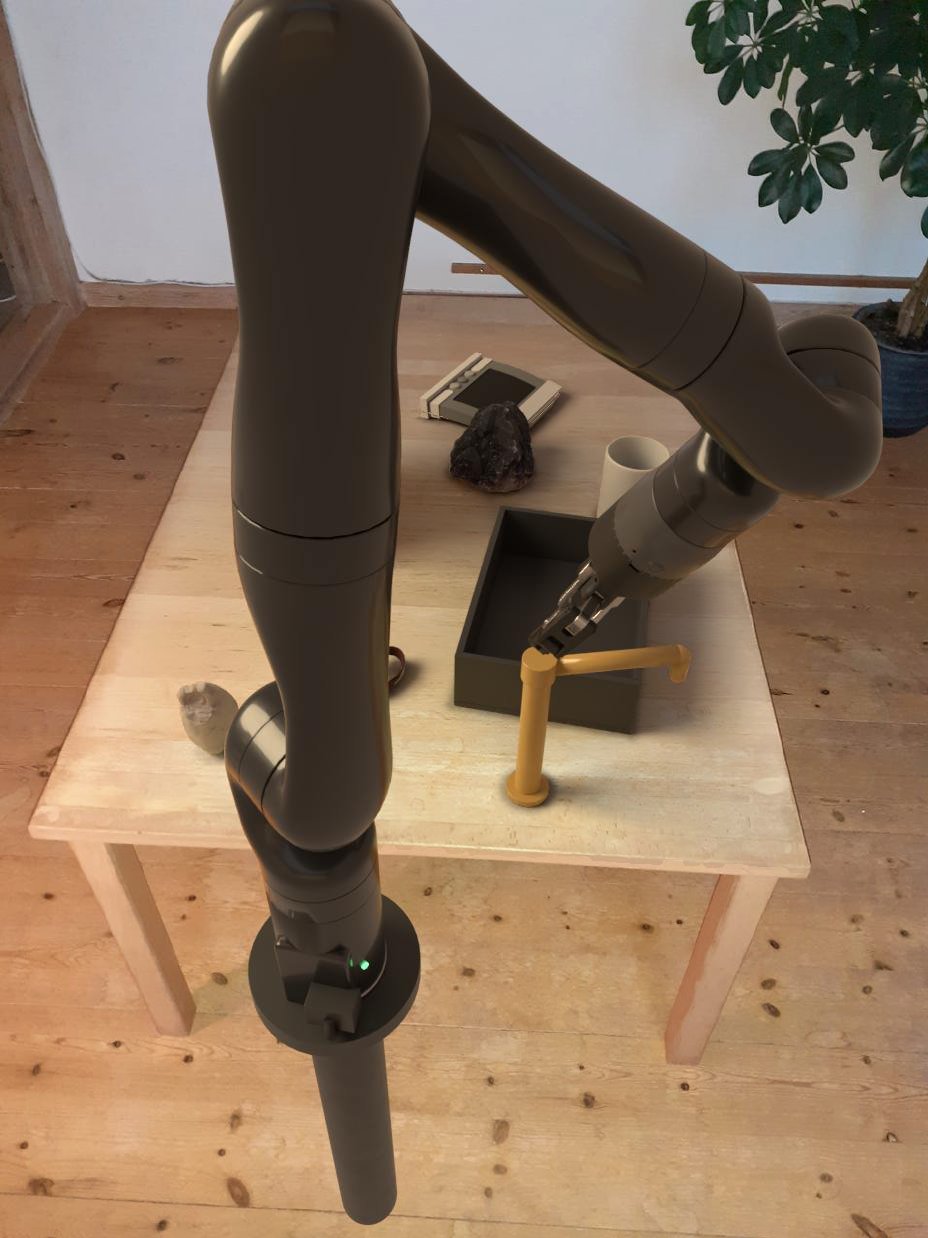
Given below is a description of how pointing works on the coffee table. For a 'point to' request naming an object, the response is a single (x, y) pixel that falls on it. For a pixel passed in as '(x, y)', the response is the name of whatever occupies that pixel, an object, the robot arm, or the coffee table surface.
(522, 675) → the faucet spout
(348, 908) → the robot arm
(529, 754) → the faucet column
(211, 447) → the coffee table surface
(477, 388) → the alarm clock
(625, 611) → the sink
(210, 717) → the fossil
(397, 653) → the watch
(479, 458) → the crystal cluster
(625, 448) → the mug
